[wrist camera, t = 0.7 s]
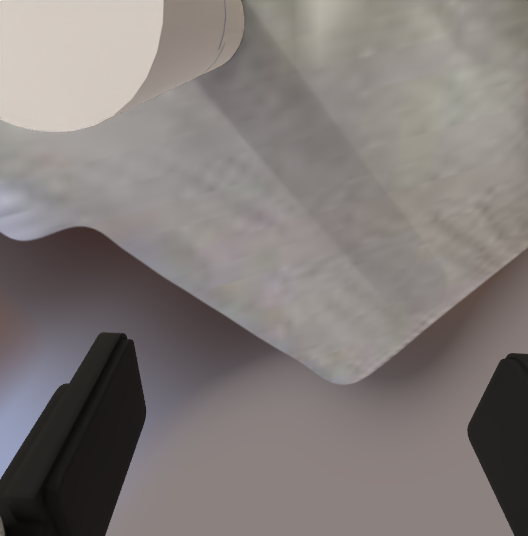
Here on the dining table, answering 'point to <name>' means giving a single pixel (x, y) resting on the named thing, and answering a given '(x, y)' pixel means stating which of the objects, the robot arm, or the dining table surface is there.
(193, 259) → the dining table surface
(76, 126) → the cylindrical container
